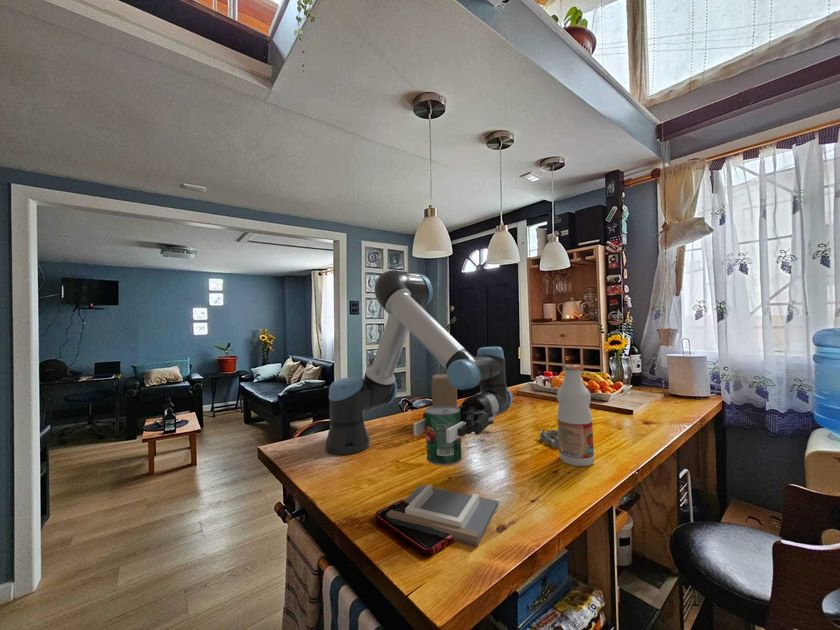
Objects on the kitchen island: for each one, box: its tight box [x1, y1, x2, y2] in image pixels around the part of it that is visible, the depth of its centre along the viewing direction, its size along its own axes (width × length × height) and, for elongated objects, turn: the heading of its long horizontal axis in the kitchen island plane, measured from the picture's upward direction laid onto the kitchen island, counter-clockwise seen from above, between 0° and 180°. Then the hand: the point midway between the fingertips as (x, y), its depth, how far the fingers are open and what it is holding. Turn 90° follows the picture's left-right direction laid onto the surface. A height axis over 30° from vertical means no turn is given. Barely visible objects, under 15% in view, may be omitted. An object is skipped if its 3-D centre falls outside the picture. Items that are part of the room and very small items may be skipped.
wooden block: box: [431, 373, 458, 407], centre depth 142 cm, size 10×10×20 cm
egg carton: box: [538, 427, 559, 449], centre depth 116 cm, size 11×8×4 cm
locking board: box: [386, 484, 499, 548], centre depth 76 cm, size 20×16×3 cm
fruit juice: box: [556, 364, 595, 467], centre depth 101 cm, size 9×9×28 cm
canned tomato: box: [424, 405, 463, 467], centre depth 77 cm, size 8×8×11 cm
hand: (430, 433), depth 73 cm, fingers closed on canned tomato, 8 cm apart
